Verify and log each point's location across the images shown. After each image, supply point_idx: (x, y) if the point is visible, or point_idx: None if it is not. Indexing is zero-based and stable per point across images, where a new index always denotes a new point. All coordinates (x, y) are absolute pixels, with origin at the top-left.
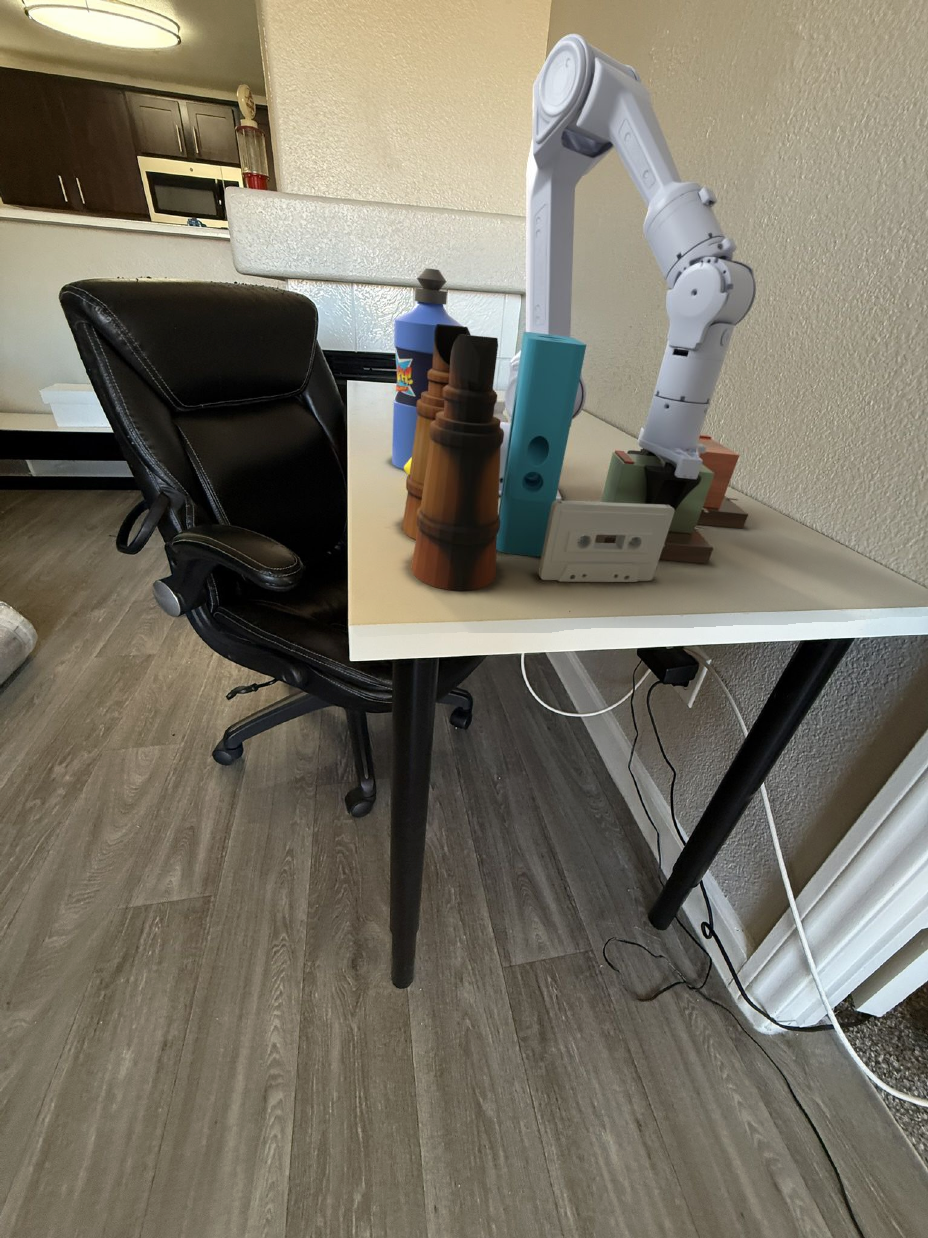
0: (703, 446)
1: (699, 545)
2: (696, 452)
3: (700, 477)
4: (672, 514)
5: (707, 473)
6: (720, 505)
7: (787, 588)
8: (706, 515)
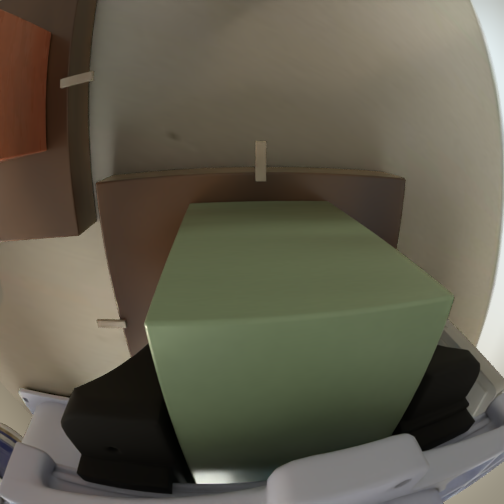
0: (396, 482)
1: (398, 214)
2: (484, 460)
3: (475, 365)
4: (501, 377)
5: (442, 329)
6: (47, 31)
7: (446, 56)
8: (77, 71)
